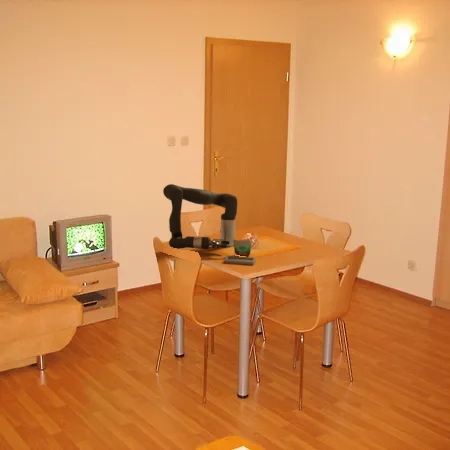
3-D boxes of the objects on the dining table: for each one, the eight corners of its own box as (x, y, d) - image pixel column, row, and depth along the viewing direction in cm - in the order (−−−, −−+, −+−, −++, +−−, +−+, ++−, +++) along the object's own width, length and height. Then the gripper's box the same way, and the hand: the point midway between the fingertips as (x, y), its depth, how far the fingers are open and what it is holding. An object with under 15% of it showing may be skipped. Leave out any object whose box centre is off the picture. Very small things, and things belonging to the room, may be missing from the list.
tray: (227, 258, 365) (227, 255, 365) (255, 260, 363) (255, 257, 362) (224, 263, 356) (224, 260, 355) (253, 265, 353) (253, 262, 353)
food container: (234, 257, 368) (234, 241, 365) (232, 255, 373) (232, 239, 371) (254, 257, 370) (255, 241, 368) (252, 254, 376) (252, 238, 374)
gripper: (199, 239, 367) (226, 241, 364) (204, 234, 381) (230, 235, 378) (199, 251, 369) (225, 253, 366) (204, 246, 382) (229, 247, 380)
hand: (228, 244), depth 372 cm, fingers open, 8 cm apart
